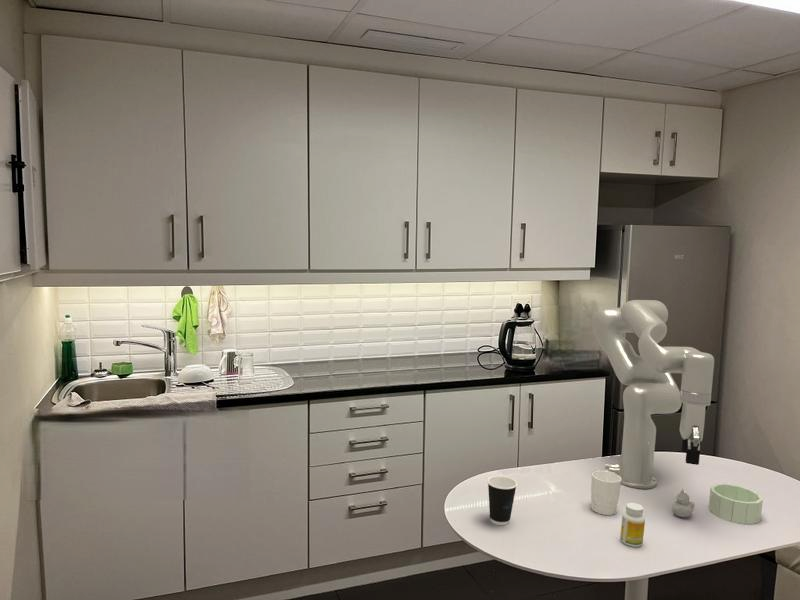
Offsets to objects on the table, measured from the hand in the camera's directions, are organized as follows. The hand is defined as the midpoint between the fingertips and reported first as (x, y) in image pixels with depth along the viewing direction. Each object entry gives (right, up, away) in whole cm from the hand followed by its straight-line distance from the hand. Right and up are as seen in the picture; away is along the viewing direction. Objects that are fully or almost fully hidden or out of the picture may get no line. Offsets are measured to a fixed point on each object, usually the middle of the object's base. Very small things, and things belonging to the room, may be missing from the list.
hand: (689, 457), depth 165 cm
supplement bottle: (-21, -18, -13) cm, 31 cm away
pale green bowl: (+15, -17, +5) cm, 23 cm away
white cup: (-23, -16, +4) cm, 28 cm away
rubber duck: (-1, -17, +2) cm, 17 cm away
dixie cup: (-53, -16, -5) cm, 56 cm away
